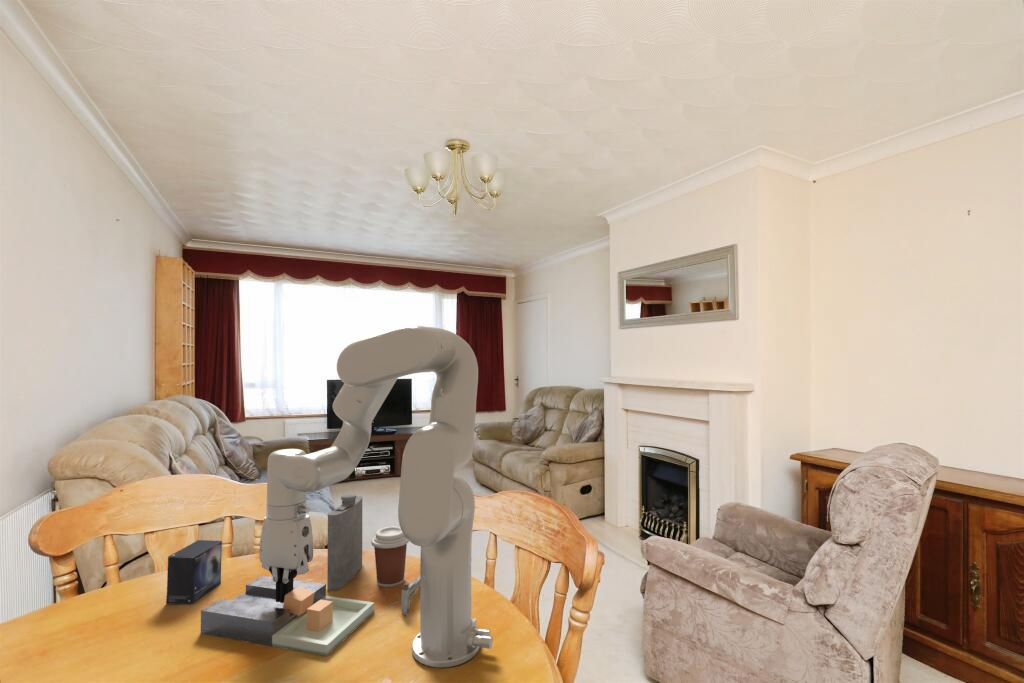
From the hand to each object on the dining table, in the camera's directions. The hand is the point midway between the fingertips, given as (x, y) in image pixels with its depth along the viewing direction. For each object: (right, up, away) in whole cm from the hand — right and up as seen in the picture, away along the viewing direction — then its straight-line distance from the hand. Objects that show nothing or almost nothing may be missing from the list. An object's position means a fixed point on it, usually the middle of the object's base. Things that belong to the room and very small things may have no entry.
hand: (284, 599), depth 101 cm
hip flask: (+6, -5, +21) cm, 22 cm away
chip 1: (+3, -1, -1) cm, 4 cm away
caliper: (+25, -5, +12) cm, 28 cm away
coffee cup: (+18, -5, +18) cm, 26 cm away
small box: (-26, -5, +12) cm, 30 cm away
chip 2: (+7, -2, -2) cm, 8 cm away
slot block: (-4, -5, +1) cm, 6 cm away
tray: (+10, -4, -3) cm, 11 cm away
